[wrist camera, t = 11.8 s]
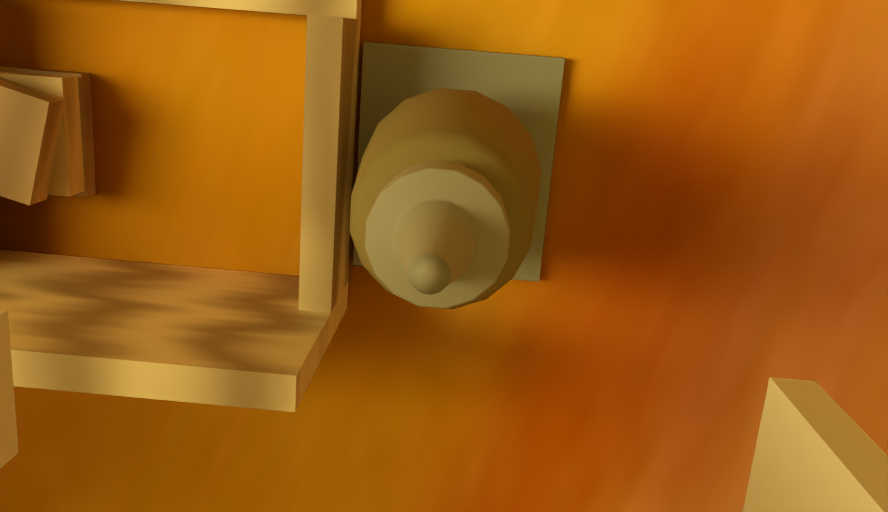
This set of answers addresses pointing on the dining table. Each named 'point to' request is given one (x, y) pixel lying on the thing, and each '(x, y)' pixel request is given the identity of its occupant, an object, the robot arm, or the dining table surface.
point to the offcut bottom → (86, 122)
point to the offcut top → (27, 141)
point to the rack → (208, 274)
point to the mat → (492, 74)
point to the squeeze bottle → (446, 199)
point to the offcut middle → (61, 130)
